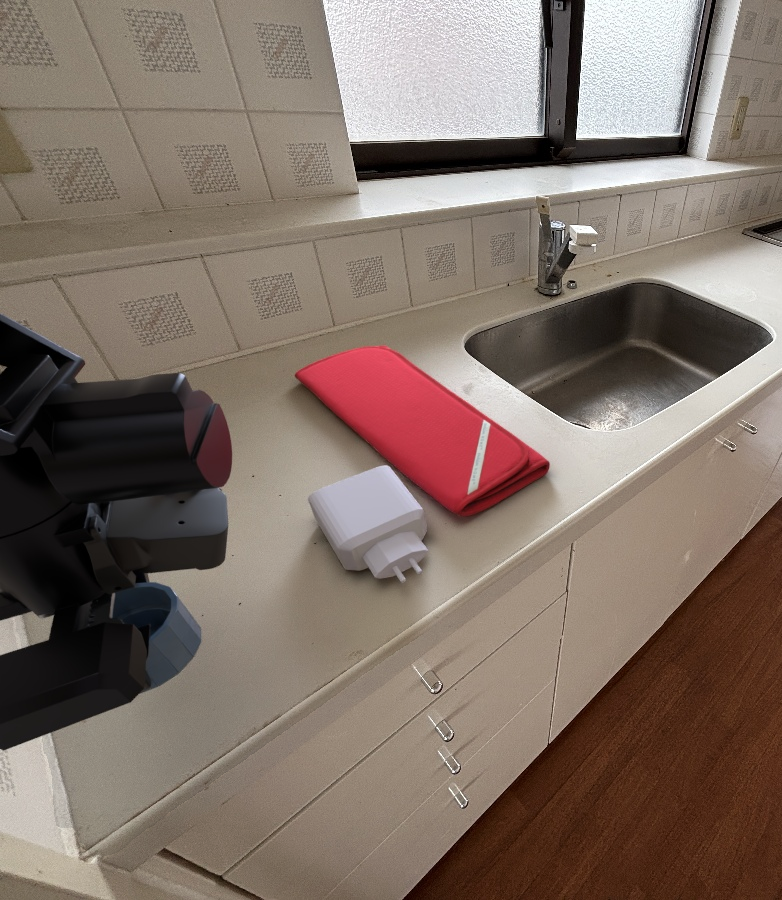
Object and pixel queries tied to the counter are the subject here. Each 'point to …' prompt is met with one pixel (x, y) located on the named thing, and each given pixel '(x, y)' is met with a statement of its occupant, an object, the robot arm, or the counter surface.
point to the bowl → (160, 628)
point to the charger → (372, 523)
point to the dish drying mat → (424, 428)
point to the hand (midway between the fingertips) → (145, 648)
